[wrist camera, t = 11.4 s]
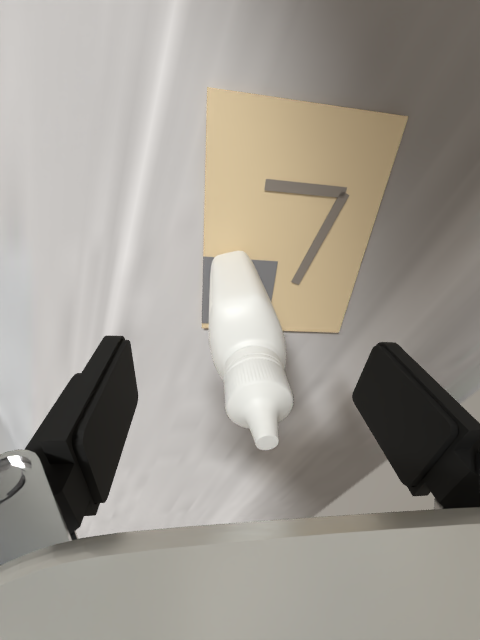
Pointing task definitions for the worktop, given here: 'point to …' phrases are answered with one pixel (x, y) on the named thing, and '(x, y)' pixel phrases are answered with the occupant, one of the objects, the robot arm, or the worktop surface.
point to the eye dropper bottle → (248, 348)
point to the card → (295, 197)
